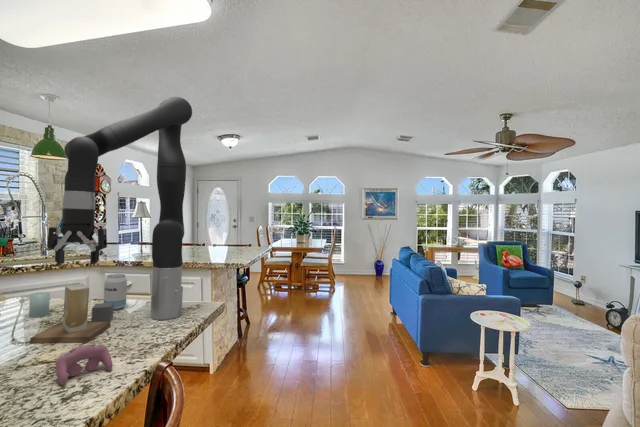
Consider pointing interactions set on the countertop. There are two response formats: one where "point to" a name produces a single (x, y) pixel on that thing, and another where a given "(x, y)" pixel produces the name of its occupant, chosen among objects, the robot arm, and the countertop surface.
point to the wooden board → (62, 336)
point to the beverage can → (115, 290)
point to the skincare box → (75, 308)
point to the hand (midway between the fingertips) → (77, 263)
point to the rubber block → (102, 312)
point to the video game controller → (91, 352)
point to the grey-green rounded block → (39, 304)
